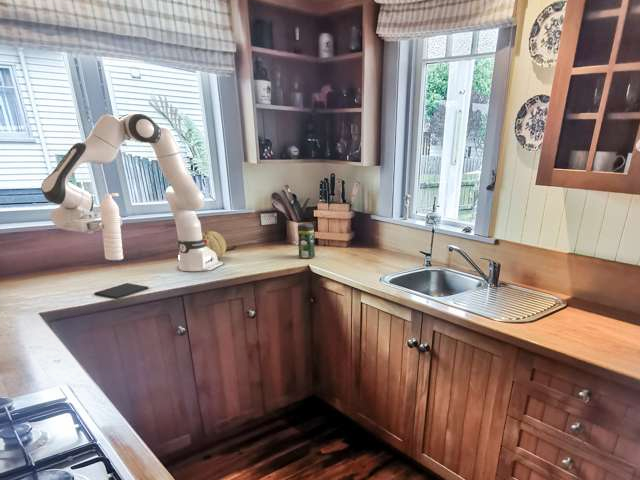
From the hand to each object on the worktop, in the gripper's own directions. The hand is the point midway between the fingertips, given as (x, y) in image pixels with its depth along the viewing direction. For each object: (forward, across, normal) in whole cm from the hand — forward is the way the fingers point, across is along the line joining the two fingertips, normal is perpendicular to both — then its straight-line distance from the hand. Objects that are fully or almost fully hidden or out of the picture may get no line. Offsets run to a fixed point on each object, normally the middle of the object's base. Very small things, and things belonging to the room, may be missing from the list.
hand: (110, 225), depth 183 cm
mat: (0, -1, +27) cm, 27 cm away
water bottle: (-1, 0, +13) cm, 13 cm away
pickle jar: (+35, +92, +27) cm, 102 cm away
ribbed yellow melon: (-6, +63, +27) cm, 69 cm away
